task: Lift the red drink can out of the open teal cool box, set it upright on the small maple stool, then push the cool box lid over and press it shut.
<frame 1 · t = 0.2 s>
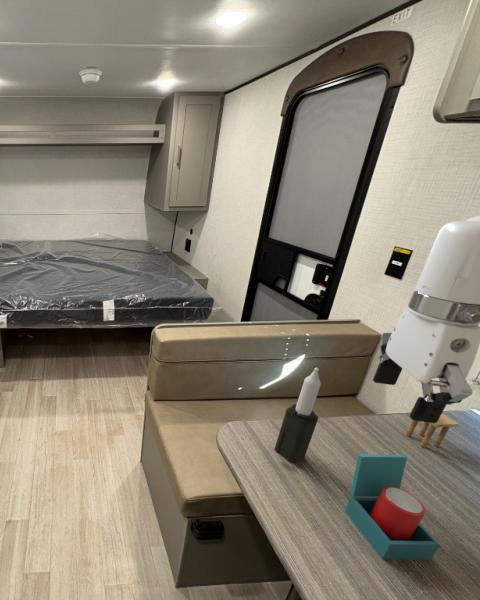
hand: (401, 400, 53), 28 cm above the table, tool pointing down, fingers open, 9 cm apart
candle: (288, 455, 77), on the table
stool: (421, 440, 81), on the table
can: (385, 533, 60), point 1 cm above the table, touching cooler
cooler lid: (378, 475, 61), point 9 cm above the table, hinge at 100.0°
cooler: (384, 535, 60), on the table
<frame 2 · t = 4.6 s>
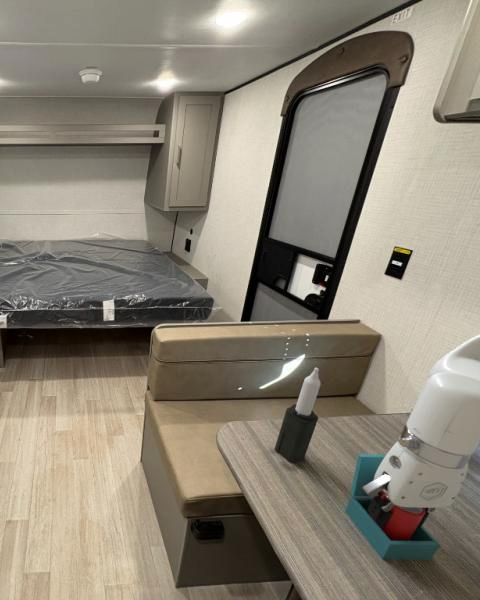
hand: (393, 518, 58), 5 cm above the table, tool pointing down, fingers closed on can, 5 cm apart
can: (385, 533, 60), point 1 cm above the table, touching cooler, gripper
everything else where it was.
when the fingers open (12 cm above the table, at t = 14.5 s): can stays where it is, resting on stool.
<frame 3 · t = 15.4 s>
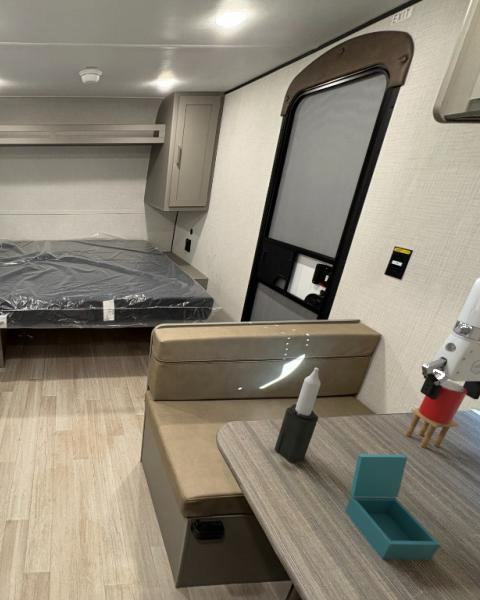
hand: (448, 395, 76), 14 cm above the table, tool pointing down, fingers open, 9 cm apart
can: (434, 415, 79), point 8 cm above the table, touching stool
everything else where it was.
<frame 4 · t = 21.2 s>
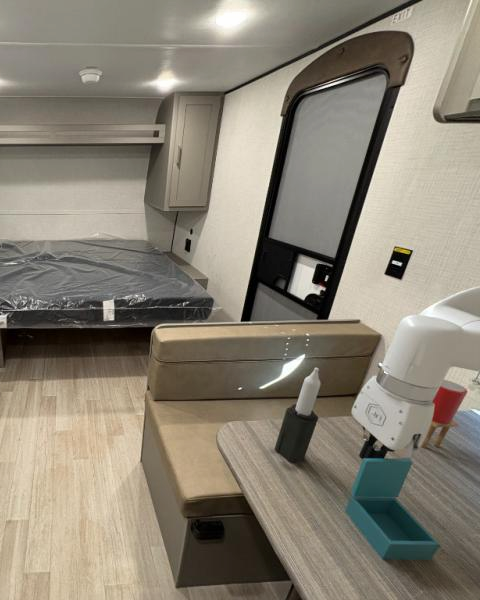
hand: (369, 460, 63), 11 cm above the table, tool pointing down, fingers closed
cooler lid: (380, 478, 61), point 9 cm above the table, hinge at 93.0°, touching gripper
everything else where it was.
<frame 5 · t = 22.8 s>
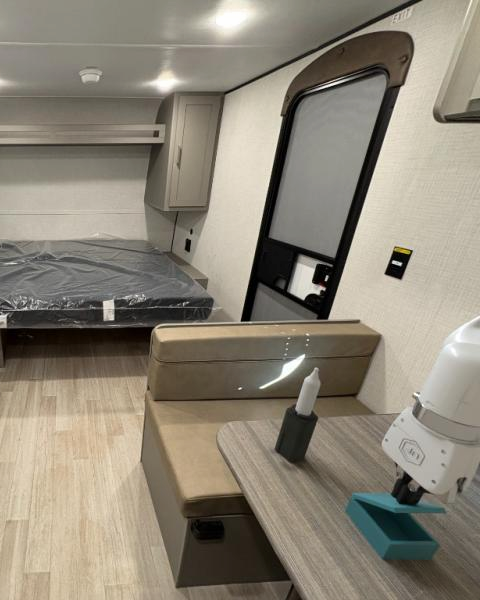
hand: (403, 499, 57), 10 cm above the table, tool pointing down, fingers closed
cooler lid: (395, 502, 58), point 8 cm above the table, hinge at 39.3°
everything else where it was.
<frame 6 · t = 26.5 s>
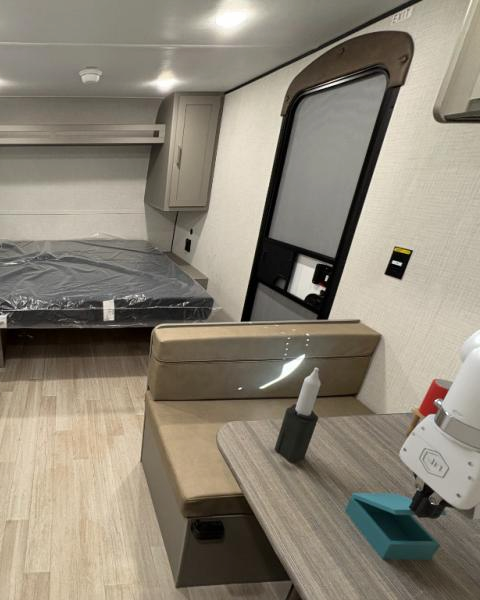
hand: (422, 512, 53), 11 cm above the table, tool pointing down, fingers closed
cooler lid: (395, 503, 58), point 8 cm above the table, hinge at 37.4°, touching gripper
everything else where it was.
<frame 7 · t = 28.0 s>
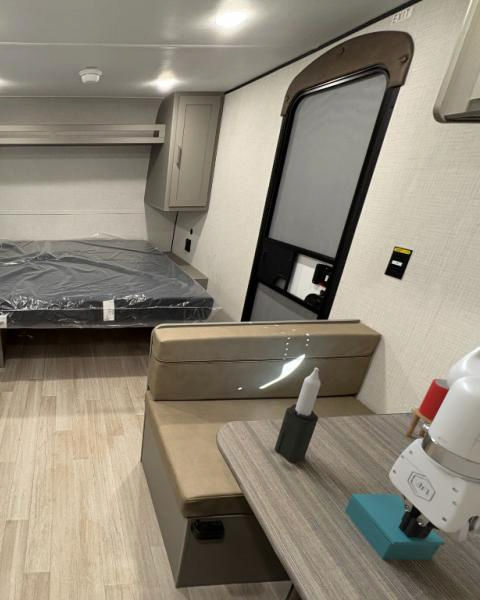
hand: (411, 532, 55), 6 cm above the table, tool pointing down, fingers closed
cooler lid: (394, 517, 58), point 5 cm above the table, hinge at 1.7°, touching gripper
everything else where it was.
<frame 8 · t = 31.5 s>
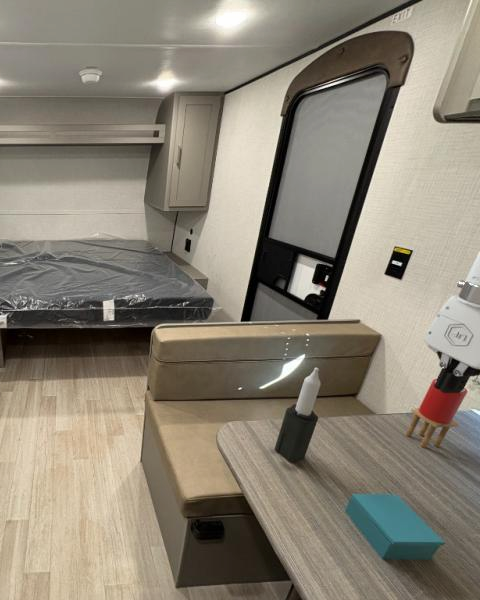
hand: (446, 390, 58), 27 cm above the table, tool pointing down, fingers closed
cooler lid: (394, 517, 58), point 5 cm above the table, hinge at 1.7°
everything else where it was.
at the end: can 0.1 cm off-centre on the stool, point 8.0 cm above the stool's base; can tilted 0°; cooler lid at +2° (first picture: +100°) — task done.
